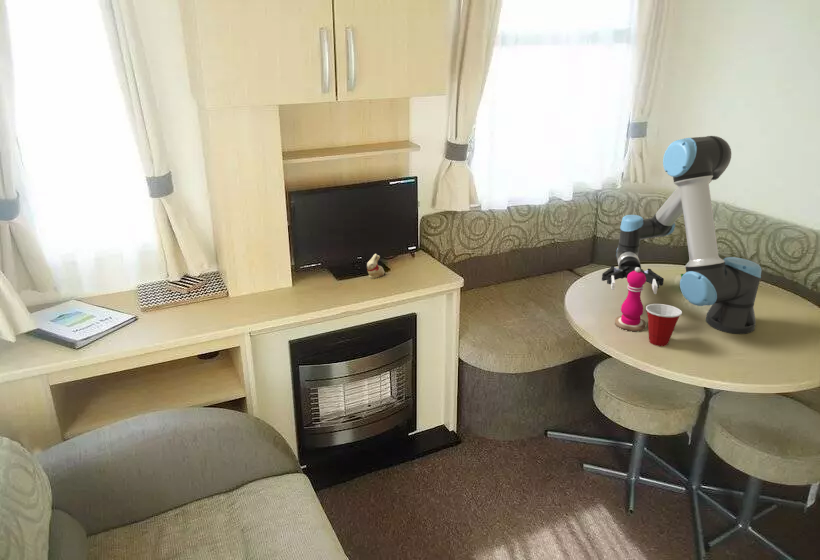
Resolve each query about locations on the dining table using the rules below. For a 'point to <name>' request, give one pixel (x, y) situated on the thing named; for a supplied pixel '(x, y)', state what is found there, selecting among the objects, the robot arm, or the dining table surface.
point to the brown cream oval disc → (630, 327)
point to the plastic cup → (661, 323)
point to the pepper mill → (633, 298)
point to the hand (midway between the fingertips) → (634, 288)
